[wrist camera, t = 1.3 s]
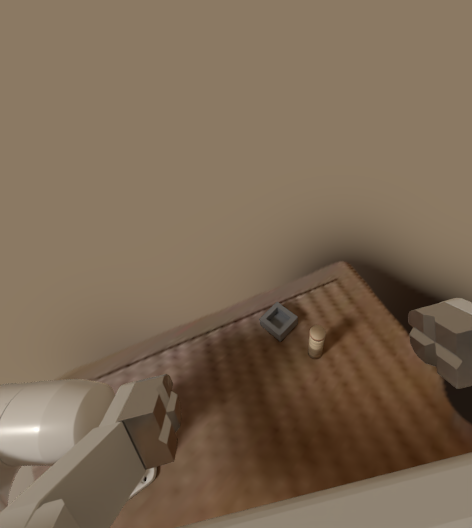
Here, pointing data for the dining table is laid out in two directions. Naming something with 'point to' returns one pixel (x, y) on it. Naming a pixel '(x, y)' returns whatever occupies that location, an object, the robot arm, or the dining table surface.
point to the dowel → (316, 341)
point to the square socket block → (278, 321)
